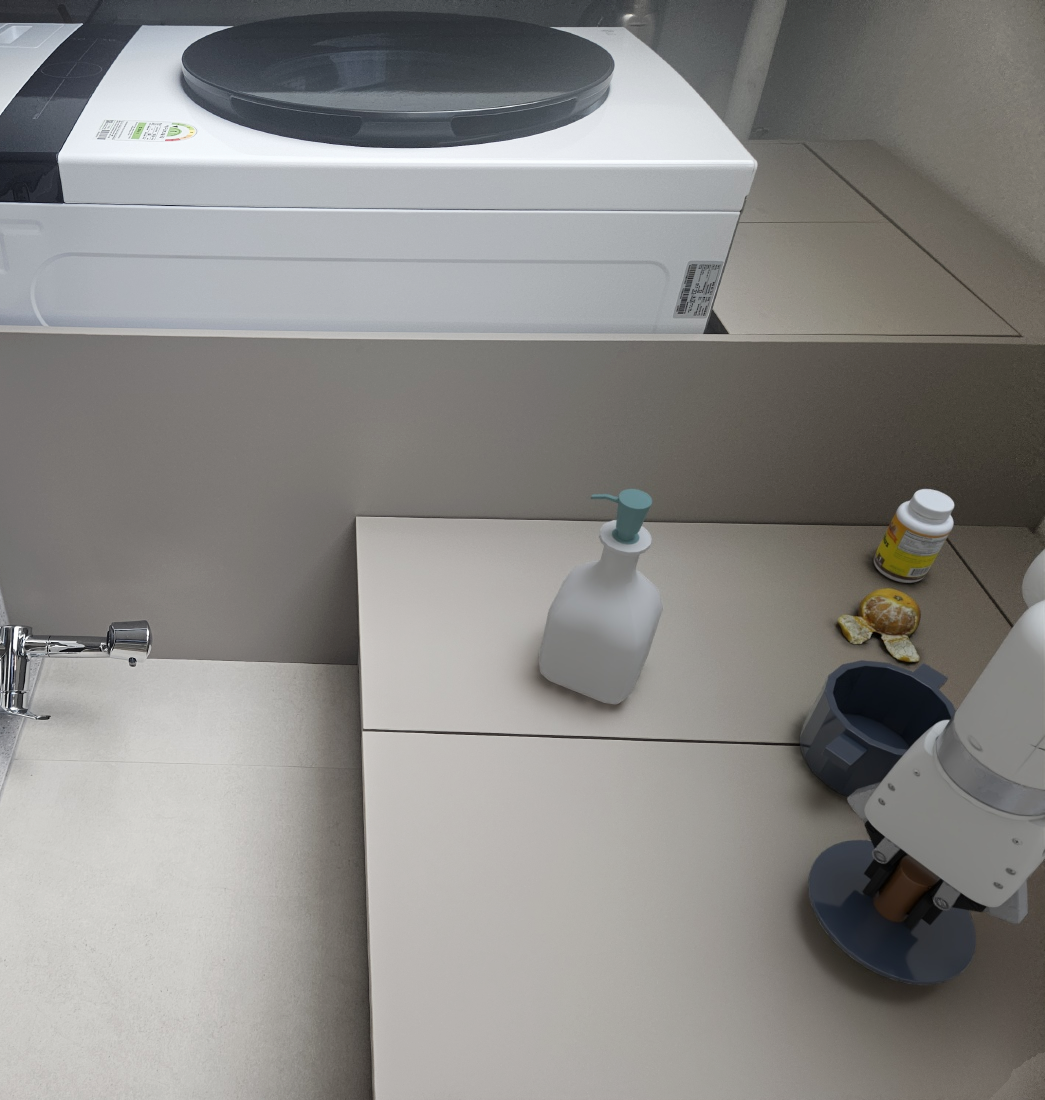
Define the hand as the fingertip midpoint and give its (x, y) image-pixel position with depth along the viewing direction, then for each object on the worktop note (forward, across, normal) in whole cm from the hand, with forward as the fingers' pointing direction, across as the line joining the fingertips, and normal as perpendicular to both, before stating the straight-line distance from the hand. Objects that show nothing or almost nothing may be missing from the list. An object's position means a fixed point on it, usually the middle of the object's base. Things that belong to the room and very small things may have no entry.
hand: (896, 899), depth 75 cm
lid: (+2, 0, 0) cm, 2 cm away
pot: (+5, +10, -15) cm, 19 cm away
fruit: (+5, +18, -32) cm, 37 cm away
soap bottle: (+5, +33, -3) cm, 33 cm away
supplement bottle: (+5, +22, -43) cm, 49 cm away
